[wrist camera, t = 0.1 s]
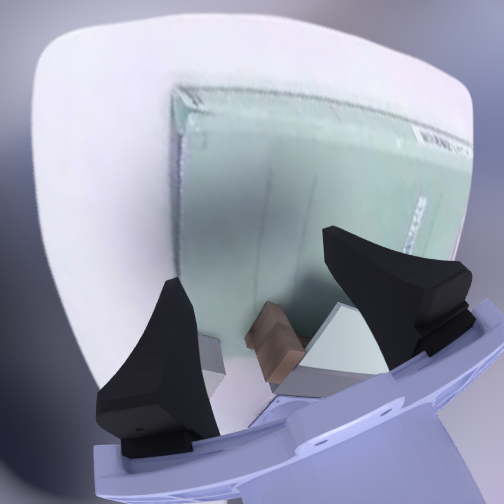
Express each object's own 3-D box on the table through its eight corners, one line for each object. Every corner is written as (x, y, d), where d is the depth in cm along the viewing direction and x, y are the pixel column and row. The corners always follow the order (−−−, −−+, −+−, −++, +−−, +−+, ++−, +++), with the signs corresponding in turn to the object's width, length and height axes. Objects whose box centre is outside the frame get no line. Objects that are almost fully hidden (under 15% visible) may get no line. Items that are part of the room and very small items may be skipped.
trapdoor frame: (375, 363, 36) (398, 395, 30) (244, 338, 28) (260, 388, 22) (395, 337, 35) (422, 368, 29) (267, 301, 27) (289, 349, 21)
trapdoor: (373, 388, 32) (383, 403, 30) (263, 378, 26) (271, 400, 23) (425, 324, 29) (439, 338, 27) (326, 287, 23) (342, 307, 20)
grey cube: (204, 363, 29) (209, 398, 24) (161, 352, 27) (160, 388, 23) (218, 339, 28) (225, 374, 23) (172, 326, 26) (172, 362, 22)
